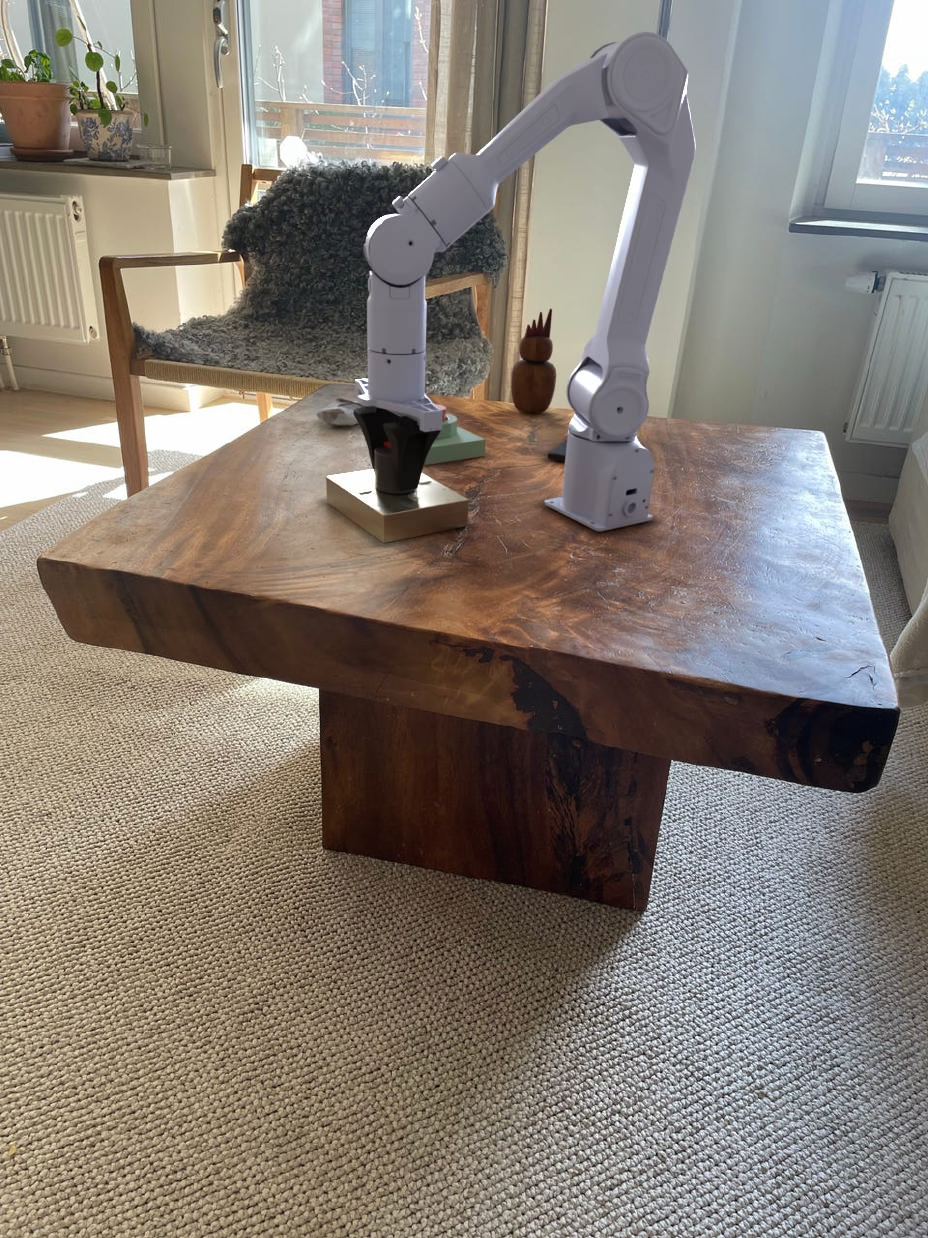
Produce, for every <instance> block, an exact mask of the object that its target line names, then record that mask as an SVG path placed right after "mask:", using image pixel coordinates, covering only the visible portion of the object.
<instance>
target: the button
mask: <svg viewBox="0 0 928 1238" xmlns="http://www.w3.org/2000/svg"><path fill="white" fill-rule="evenodd" d="M433 404H434V405H435V406H436V407H437V408H439V409H441V410H442V422H444V421H446V413H447V406H445V405H443V404H438V403H433Z"/></svg>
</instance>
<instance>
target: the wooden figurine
mask: <svg viewBox="0 0 928 1238" xmlns="http://www.w3.org/2000/svg"><path fill="white" fill-rule="evenodd" d="M543 317H544V316H543V312H542V311H540V312H539V315H538V320H536V319H532V323H531V325H530V324H527V326H526V329H525V333H524V336H523V337H522V338H521V339H520V342H519V348H518V351H519V356H520V358H521V360H520V359H519V361H516V362H515V363H514V364H513V366H512V369H511V374H510V391H511V399H512V403H513V406H514V407H515V409H516V410H518V411H519V412H522V413H526V414H540V413H544V412H546V411H547V410H548V409H549V407H550V406H551V403H552V401H553V399H554V395H555V391H556V390H555V389H556V384H557V369H556V367H555V365H554V364H553V363H552V362H551V361H549V360H550V359H551V358H552V355H553V351H554V347H553V346H554V344H553V340H552V339H551V338H550V337H551V329H552V319H553V318H552V317H553V308H549V310H548V313H547V316H546V318H545V322H544V319H543ZM536 321H537V322H536Z"/></svg>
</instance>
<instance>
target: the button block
mask: <svg viewBox="0 0 928 1238" xmlns="http://www.w3.org/2000/svg"><path fill="white" fill-rule="evenodd" d="M486 443H487V442H486V439H485V438H483V437H481V436H479V435H476V434H475V433H473V432H471V431H468V430H466V429H464V428H462V427H459V426H458V417H457V416H455V415H453V414H451V413H448V412H446V421H444V422H442V430H441V432H440V433H439V435H438V436H437V438H436V439H435V441H434V443H433V444H432V446H431V448H430V450H429V453H428V455H427V457H426V460H425V463H424V466H429V465H435V464H442V463H447V462H448V463H449V462H455V461H461V460H468V459H474V458H480V457H485V455H486Z"/></svg>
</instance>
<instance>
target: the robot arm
mask: <svg viewBox="0 0 928 1238" xmlns="http://www.w3.org/2000/svg"><path fill="white" fill-rule="evenodd" d="M688 79H689V71H688V69H687V67H686V66H685V64H684V62H683V61H682V60H681V58H680V57H679V55H678V53H677V52H676V51H675V49H674V47H673V46H672V44H670V42H669V41H668V40H667V39H666V38H665V37H663V36H661V35H660V34H658V33H655V32H652V31H641V32H636V33H635V34H631V35H630V36H628V37H627V38H625V39H623V40H621V41H612V42H609V43H608V42H607V43H605V44H603V45H601V46H599V47H598V48H596V49H595V50H594V51H593V52H592V53H591V54H590V55H589V56H588V58H587V59H584V60H581V61H579V62H578V63H576V64H575V65H573V66H572V67H570V68H569V69H567V70H566V71H564V72H562V74H561V75H559V76H558V77H557V78H555V79H554V80H552V81H551V82H550V83H549V84H548V85H547V86H546V87H545V88H544V89H543V90H542V91H541V92H540V93H539V94H538V95H537V96H535V98H533V100H532V101H531V102H529V103H528V105H526V106H525V108H523V109H522V110H521V111H520V112H519V113H518V114H517V115H516V116H515V117H514V118H513V119H512V120H511V121H510V122H509V123H508V124H506V126H505V127H503V129H502V130H500V131H499V132H498V133H497V134H496V135H495V136H494V137H493V138H492V139H491V140H490V141H489V142H488V143H487V144H486V145H485V146H484V147H482V149H480V150H479V151H478V153H476V154H472V153H471V154H470V153H464V152H454V153H453V154H452V155H451V156H450V157H449V158H448V159H447V158H446V156H440V157H438V158H437V159H436V160H435V161H433V162H432V164H431V168H432V170H433V172H432V173H431V174H430V175H429V176H428V177H427V178H426V179H425V180H423V181H422V182H421V183H420V184H419V185H418V186H417V187H416V188H414V189H413V190H412V191H411V192H410V193H409V194H408V196H406V197H405V198H403V197H402V196H400V195H399V196H397V197H396V199H394V200H393V201H392V206H393V208H394V209H395V210H396V212H397V213H392V214H386V215H383V216H382V217H380V218H378V219H377V220H375V222H373V224H372V225H371V226H370V227H369V228H368V229H369V230H368V231H367V235H366V237H365V243H364V244H363V253H364V257H365V259H366V261H367V263H368V265H369V267H370V268H371V269H372V270H369V277H368V279H367V289H368V293H369V295H368V297H367V300H366V323H367V324H366V332H367V333H366V335H367V336H366V340H367V341H366V342H367V344H366V346H367V378H359V379H358V378H357V379H354V398H355V399H357V402H358V403H359V404H361V405H363V406H365V407H363V408H356V409H354V410H353V414H354V416H355V418H356V420H357V422H358V423H357V424H358V425H359V428H360V430H361V432H362V434H363V437H364V440H365V443H366V447H367V451H368V454H369V458H370V461H371V467H372V469H373V471H374V474H375V448H377V447H379V446H382V445H384V442H389V443H390V446H391V450H392V455H393V461H394V473H395V481H396V486H397V489H398V490H399V491H406V490H412V489H417V488H418V484H419V481H420V477H421V474H422V473H423V470H424V466H425V465H424V463H425V460H426V457H427V455H428V453H429V450H430V448H431V446H432V444H433V443H434V441H435V439H436V438H437V436H438V435H439V433H440V432H441V430H442V410H441V409H439V408H437V407H436V406H435V405H434V404H435V403H434V402H433V401H432V400H431V398H430V397H429V396H428V395H427V393H426V360H427V359H426V356H427V353H426V352H427V349H426V348H427V313H428V311H427V310H428V309H427V307H428V306H427V305H428V303H427V300H426V276H427V275H428V274H429V272H430V269H431V268H432V266H433V262H434V257H435V256H434V255H435V254H436V253H444V252H445V251H446V250H447V249H448V248H449V247H450V246H451V245H453V244H454V243H455V242H456V241H458V239H460V238H461V237H462V236H463V235H464V234H465V233H466V232H468V231H469V230H470V229H471V228H472V227H473V226H475V225H476V224H477V223H478V222H479V221H480V220H482V218H484V217H485V216H486V215H487V214H488V213H490V212H491V210H493V209H494V208H495V205H496V198H497V191H498V187H499V184H500V183H502V182H503V181H504V180H505V179H506V178H508V177H509V176H510V175H511V174H513V173H514V171H517V170H518V168H520V167H521V166H522V165H524V164H525V163H526V162H528V160H530V159H531V158H532V157H534V156H535V155H536V154H537V153H538V152H539V151H541V150H542V149H543V148H544V147H545V146H547V145H548V144H550V143H551V141H553V140H554V139H556V137H559V135H560V134H561V133H563V132H564V131H565V130H567V129H568V128H569V127H572V126H576V125H580V124H586V123H590V122H595V121H596V122H597V121H600V122H601V123H603V125H605V126H606V127H608V128H609V129H610V130H612V132H614V133H615V134H616V135H617V137H618V139H619V140H620V142H621V143H622V145H623V147H624V148H625V149H626V151H627V153H628V155H629V156H630V158H631V159H632V161H633V163H634V168H633V172H632V176H631V180H630V184H629V185H630V186H629V189H628V193H627V197H626V201H625V202H626V203H625V206H624V210H623V214H622V219H621V222H620V225H619V226H620V227H619V230H618V231H619V232H618V236H617V239H616V243H615V248H614V252H613V256H612V261H611V265H610V270H609V274H608V278H607V281H606V286H605V290H604V295H603V298H602V303H601V307H600V312H599V316H598V320H597V324H596V328H595V331H594V334H593V335H592V336H591V337H590V339H589V340H588V341H587V343H586V344H585V346H584V348H583V353H582V356H581V359H580V361H579V363H578V365H577V366H576V367H575V369H574V370H573V371H572V373H571V374H570V376H569V378H568V380H567V383H566V391H565V393H566V399H567V402H568V404H569V407H570V408H571V409H572V410H573V411H574V412H573V416H572V418H571V420H570V422H569V423H568V430H567V439H566V440H567V449H566V459H565V462H564V469H563V470H564V471H563V482H562V490H561V496H560V497H553V498H549V499H548V498H547V499H544V503H543V504H544V505H545V506H546V507H548V508H550V509H552V510H554V511H555V512H558V513H560V514H562V515H564V516H566V517H568V518H569V519H572V520H574V521H575V522H578V523H580V524H582V525H584V526H586V527H587V528H589V529H591V530H593V531H595V532H605V531H611V530H614V529H619V528H623V527H628V526H631V525H632V526H633V525H636V524H640V523H645V522H650V521H653V520H654V519H653V518H654V516H653V515H652V514H650V513H649V509H650V502H651V496H652V488H653V482H654V477H655V476H654V475H655V460H654V456H653V454H652V453H651V451H650V450H649V449H647V448H646V447H645V446H643V445H642V444H641V442H640V441H639V439H638V436H637V434H638V431H639V429H640V428H641V427H642V426H643V424H644V423H645V421H646V419H647V417H648V414H649V410H650V400H649V396H648V389H647V388H648V387H647V385H648V381H649V376H650V371H651V370H650V363H649V357H648V352H647V346H646V345H647V341H648V338H649V333H650V328H651V325H652V321H653V318H654V314H655V310H656V305H657V302H658V298H659V296H660V295H659V294H660V292H661V291H660V290H661V287H662V283H663V280H664V275H665V271H666V268H667V264H668V260H669V256H670V254H671V253H670V252H671V248H672V245H673V241H674V237H675V233H676V229H677V226H678V223H679V219H680V215H681V210H682V208H683V207H682V206H683V204H684V203H683V202H684V199H685V195H686V191H687V188H688V184H689V180H690V176H691V173H692V170H693V165H694V161H695V157H696V149H697V145H696V144H697V143H696V138H695V132H694V126H693V121H692V115H691V111H690V105H689V100H688V95H687V94H688V93H687V87H688Z"/></svg>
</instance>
